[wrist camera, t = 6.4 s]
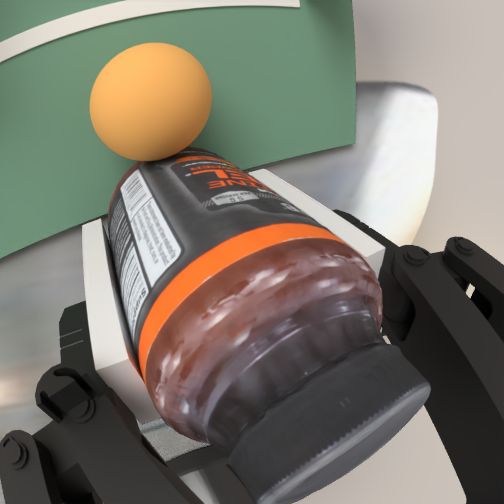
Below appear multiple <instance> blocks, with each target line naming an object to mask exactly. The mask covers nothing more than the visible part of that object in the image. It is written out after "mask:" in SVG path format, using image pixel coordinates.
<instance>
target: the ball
mask: <svg viewBox="0 0 504 504" xmlns="http://www.w3.org/2000/svg"><path fill="white" fill-rule="evenodd" d="M211 105H212V90H211V85H210V81H209V78H208V75H207V73H206V72H205V70H204V68H203V66H202V65H201V64H200V62H199V61H198V60H197V59H196V58H195V57H194V56H193V55H191V54H190V53H189V52H187V51H185V50H184V49H182V48H179V47H177V46H174V45H170V44H166V43H145V44H140V45H136V46H133V47H131V48H129V49H126V50H125V51H123V52H121V53H119V54H118V55H117V56H115V57H114V58H113V59H111V60H110V61H109V62H108V63H107V64H106V65H105V67H104V68H103V69H102V71H101V72H100V73H99V75H98V77H97V79H96V81H95V83H94V85H93V88H92V92H91V96H90V117H91V121H92V124H93V127H94V129H95V131H96V133H97V135H98V136H99V138H100V139H101V141H102V142H103V143H104V144H105V145H106V146H107V147H108V148H109V149H111V150H112V151H113V152H115V153H117V154H118V155H120V156H123V157H125V158H128V159H132V160H138V161H154V160H160V159H164V158H167V157H170V156H172V155H174V154H176V153H178V152H180V151H181V150H183V149H184V148H186V147H187V146H188V145H189V144H191V143H192V142H193V141H194V140H195V139H196V138H197V136H198V135H199V134H200V132H201V131H202V129H203V128H204V126H205V124H206V122H207V120H208V117H209V114H210V110H211Z"/></svg>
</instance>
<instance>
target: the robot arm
mask: <svg viewBox="0 0 504 504" xmlns="http://www.w3.org/2000/svg"><path fill="white" fill-rule="evenodd" d="M248 174H249V175H250V176H252V177H254V178H255V179H256V180H258V181H259V182H260V183H262V184H263V185H265V186H266V187H268V188H270V189H271V190H273V191H274V192H276V193H277V194H278V195H279V196H281V197H282V198H284V199H286V200H287V201H289V202H290V203H292V204H294V205H295V206H296V207H297V208H298V209H300V210H301V211H302V212H304V213H305V214H307V215H308V216H310V217H312V218H314V219H315V220H316V221H317V222H318V223H319V224H321V225H323V226H325V227H327V228H328V229H329V230H330V231H331V232H332V233H333V234H334V235H335V236H336V237H338V238H339V239H341V240H342V241H343V242H345V243H346V244H347V245H349V246H350V247H351V248H352V249H353V250H355V251H356V252H357V253H358V254H359V255H360V256H361V257H362V258H363V259H364V260H365V261H366V262H367V263H368V264H369V265H370V267H371V268H372V269H373V271H374V272H375V274H376V277H377V279H378V281H379V284H380V287H381V290H382V305H383V309H382V322H381V325H380V329H381V327H382V332H381V334H382V336H385V335H386V336H387V337H388V339H389V341H390V343H391V344H392V345H396V346H398V347H399V348H400V350H401V352H402V354H403V356H404V357H405V358H406V359H407V360H408V361H409V362H410V363H411V364H412V365H413V366H414V367H415V368H416V369H417V370H418V371H419V373H420V374H421V375H422V376H423V377H424V378H425V379H426V380H427V381H428V382H429V383H430V387H431V391H430V395H429V397H428V398H427V400H426V402H425V403H424V406H425V408H426V410H427V412H428V414H429V416H430V418H431V420H432V422H433V424H434V426H435V428H436V430H437V432H438V434H439V436H440V438H441V440H442V443H443V445H444V447H445V449H446V451H447V453H448V456H449V458H450V460H451V462H452V465H453V467H454V469H455V471H456V473H457V476H458V478H459V481H460V483H461V485H462V488H463V490H464V493H465V495H466V499H467V500H466V504H504V265H503V264H501V263H500V262H499V261H498V260H496V259H495V258H493V257H492V256H491V255H489V254H488V253H487V252H486V251H484V250H483V249H482V248H480V247H479V246H477V245H476V244H475V243H473V242H472V241H470V240H468V239H465V238H463V237H452V238H449V239H448V241H447V243H446V246H445V249H444V251H442V252H436V253H429V252H428V251H427V250H425V249H423V248H421V247H419V246H414V245H403V246H401V247H398V246H397V245H395V244H394V243H393V242H391V241H390V240H388V239H387V238H385V237H384V236H382V235H381V234H379V233H378V232H376V231H375V230H373V229H372V228H369V226H367V225H366V224H364V223H363V222H360V220H358V219H357V218H355V217H354V216H352V215H351V214H349V213H346V212H343V211H340V210H337V209H336V210H333V211H331V210H330V209H328V208H327V207H325V206H324V205H322V204H320V203H319V202H317V201H316V200H314V199H313V198H311V197H310V196H308V195H306V194H305V193H303V192H302V191H300V190H298V189H297V188H295V187H294V186H292V185H290V184H289V183H287V182H285V181H284V180H282V179H281V178H279V177H277V176H276V175H274V174H272V173H271V172H269V171H267V170H266V169H260V170H257V171H253V172H249V173H248ZM82 241H83V267H84V283H85V295H86V301H83V302H80V303H78V304H75V305H72V306H70V307H67V308H65V309H64V312H63V314H62V317H61V319H60V322H59V332H60V348H61V350H60V353H61V363H60V364H58V365H56V366H54V367H51V368H50V369H49V370H48V371H47V372H46V373H45V374H43V376H42V377H41V379H40V381H39V382H38V384H37V388H36V393H35V398H36V404H37V406H38V407H39V408H40V409H42V410H43V411H44V412H45V413H46V414H47V415H48V416H50V417H51V418H52V419H53V421H51V422H50V423H49V424H48V425H46V426H45V427H44V428H42V429H41V430H39V431H38V432H37V433H35V434H34V435H32V436H31V435H30V434H29V433H27V432H24V431H22V430H13V431H11V432H10V433H8V434H6V435H5V437H4V438H3V439H2V440H1V442H0V479H1V484H2V489H3V494H4V499H5V503H6V504H103V503H104V504H255V503H254V501H253V500H252V498H251V497H250V496H249V494H248V491H247V489H246V488H245V486H244V485H243V483H242V482H241V480H240V478H239V477H238V475H237V474H236V472H235V471H234V470H233V469H232V467H231V466H230V464H229V462H228V456H229V453H228V452H226V451H224V450H222V449H219V448H217V447H215V446H209V447H206V448H202V449H199V450H196V451H193V452H190V453H187V454H185V455H182V456H180V457H177V458H175V459H173V460H170V461H168V462H165V460H164V459H163V458H162V457H161V456H160V455H159V453H158V452H157V451H156V450H155V449H154V447H153V446H152V445H151V444H150V442H149V441H148V440H147V439H146V437H144V436H143V435H142V434H141V433H140V430H139V427H138V424H137V421H136V419H137V420H138V421H139V422H140V423H141V424H142V425H143V424H145V423H148V422H151V421H154V420H157V419H159V418H162V417H161V416H160V414H159V413H158V411H157V410H156V408H155V407H154V404H153V402H152V399H151V397H150V395H149V393H148V391H147V388H146V385H145V382H144V379H143V376H142V374H141V369H140V366H139V364H138V361H137V357H136V353H135V350H134V346H133V343H132V339H131V336H130V332H129V328H128V324H127V320H126V316H125V312H124V308H123V304H122V300H121V295H120V291H119V286H118V281H117V277H116V272H115V267H114V261H113V256H112V251H111V245H110V243H109V240H108V237H107V234H106V232H105V229H104V226H103V223H102V220H101V219H98V220H95V221H93V222H90V223H87V224H85V225H82ZM470 283H471V285H473V286H474V287H475V290H474V292H473V294H472V296H471V298H469V297H468V296H467V295H466V291H467V289H468V286H469V284H470ZM102 501H103V502H102Z"/></svg>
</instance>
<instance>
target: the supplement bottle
mask: <svg viewBox="0 0 504 504" xmlns="http://www.w3.org/2000/svg"><path fill="white" fill-rule="evenodd" d="M108 231H109V240H110V245H111V251H112V256H113V261H114V267H115V272H116V277H117V281H118V286H119V291H120V295H121V300H122V304H123V308H124V312H125V316H126V320H127V324H128V328H129V332H130V336H131V339H132V343H133V346H134V350H135V353H136V357H137V361H138V364H139V366H140V369H141V374H142V376H143V379H144V382H145V385H146V388H147V391H148V393H149V395H150V397H151V399H152V402H153V404H154V407H155V408H156V410H157V411H158V413H159V414H160V416H161V417H162V419H163V420H164V421H165V423H166V424H167V425H168V426H170V427H171V428H173V429H174V430H175V431H177V432H178V433H179V434H181V435H184V436H186V437H188V438H190V439H193V440H195V441H199V442H203V443H209V444H211V445H213V446H215V447H217V448H219V449H222V450H224V451H226V452H228V453H229V456H228V462H229V464H230V466H231V467H232V469H233V470H234V471H235V472H236V474H237V475H238V477H239V478H240V480H241V482H242V483H243V485H244V486H245V488H246V489H247V491H248V494H249V496H250V497H251V498H252V500H253V501H254V503H255V504H292V503H294V502H297V501H299V500H301V499H303V498H305V497H306V496H308V495H310V494H312V493H313V492H315V491H318V490H320V489H322V488H324V487H325V486H327V485H329V484H331V483H332V482H334V481H336V480H337V479H339V478H341V477H342V476H344V475H346V474H347V473H349V472H350V471H351V470H353V469H354V468H356V467H357V466H358V465H360V464H361V463H363V462H364V461H365V460H367V459H368V458H369V457H371V456H372V455H373V454H374V453H375V452H377V451H378V450H379V449H380V448H381V447H383V446H384V445H385V444H386V443H387V442H388V441H389V440H391V439H392V438H393V437H394V436H395V435H396V434H397V433H398V432H399V431H400V430H401V429H402V428H403V427H404V426H405V425H406V424H407V423H408V422H409V421H410V420H411V418H412V417H413V416H414V415H415V414H416V413H417V412H418V411H419V410H420V408H421V407H422V406H423V405H424V403H425V402H426V400H427V398H428V397H429V395H430V391H431V387H430V383H429V382H428V381H427V380H426V379H425V378H424V377H423V376H422V375H421V374H420V373H419V371H418V370H417V369H416V368H415V367H414V366H413V365H412V364H411V363H410V362H409V361H408V360H407V359H406V358H405V357H404V356H403V354H402V352H401V350H400V348H399V347H398V346H396V345H392V344H387V343H386V342H385V340H384V339H383V337H382V334H381V333H380V325H381V322H382V309H383V305H382V290H381V287H380V284H379V281H378V279H377V277H376V274H375V272H374V271H373V269H372V268H371V267H370V265H369V264H368V263H367V262H366V261H365V260H364V259H363V258H362V257H361V256H360V255H359V254H358V253H357V252H356V251H355V250H353V249H352V248H351V247H350V246H349V245H347V244H346V243H345V242H343V241H342V240H341V239H339V238H338V237H336V236H335V235H334V234H333V233H332V232H331V231H330V230H329V229H328V228H327V227H325V226H323V225H321V224H319V223H318V222H317V221H316V220H315V219H314V218H312V217H310V216H308V215H307V214H305V213H304V212H302V211H301V210H300V209H298V208H297V207H296V206H295V205H294V204H292V203H290V202H289V201H287V200H286V199H284V198H282V197H281V196H279V195H278V194H277V193H276V192H274V191H273V190H271V189H270V188H268V187H266V186H265V185H263V184H262V183H260V182H259V181H258V180H256V179H255V178H254V177H252V176H250V175H249V174H247V173H246V172H244V171H243V170H241V169H240V168H239V167H237V166H235V165H234V164H232V163H231V162H229V161H227V160H226V159H224V158H223V157H221V156H219V155H218V154H216V153H213V152H209V151H208V150H205V149H202V148H197V147H188V146H187V147H186V148H184V149H183V150H181V151H180V152H178V153H176V154H174V155H172V156H170V157H167V158H164V159H160V160H154V161H138V162H137V163H135V164H134V165H133V166H132V167H131V168H130V169H129V170H128V171H127V172H126V173H125V175H124V176H123V177H122V179H121V180H120V181H119V183H118V184H117V186H116V188H115V190H114V192H113V194H112V197H111V200H110V205H109V210H108Z"/></svg>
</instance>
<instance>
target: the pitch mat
mask: <svg viewBox="0 0 504 504" xmlns="http://www.w3.org/2000/svg"><path fill="white" fill-rule="evenodd" d="M145 43H166V44H170V45H174V46H177V47H179V48H182V49H184V50H185V51H187V52H189V53H190V54H191V55H193V56H194V57H195V58H196V59H197V60H198V61H199V62H200V64H201V65H202V66H203V68H204V70H205V72H206V73H207V75H208V78H209V81H210V85H211V90H212V105H211V110H210V114H209V117H208V120H207V122H206V124H205V126H204V128H203V129H202V131H201V132H200V134H199V135H198V136H197V138H196V139H195V140H194V141H193V142H192V143H191V144H189V145H188V147H197V148H202V149H205V150H208V151H209V152H213V153H216V154H218V155H219V156H221V157H223V158H224V159H226V160H227V161H229V162H231V163H232V164H234V165H235V166H237V167H239V168H240V169H241V170H245V169H248V168H252V167H256V166H259V165H263V164H267V163H271V162H275V161H279V160H283V159H287V158H291V157H295V156H300V155H304V154H308V153H312V152H317V151H321V150H326V149H331V148H335V147H340V146H345V145H350V144H355V135H356V67H355V41H354V23H353V10H352V0H0V258H2V257H4V256H6V255H9V254H11V253H13V252H15V251H17V250H19V249H22V248H24V247H26V246H28V245H31V244H33V243H35V242H38V241H40V240H42V239H44V238H47V237H49V236H52V235H54V234H56V233H59V232H61V231H64V230H66V229H69V228H71V227H74V226H76V225H79V224H81V223H84V222H86V221H89V220H91V219H94V218H97V217H99V216H102V215H105V214H107V213H108V210H109V205H110V200H111V197H112V194H113V192H114V190H115V188H116V186H117V184H118V183H119V181H120V180H121V179H122V177H123V176H124V175H125V173H126V172H127V171H128V170H129V169H130V168H131V167H132V166H133V165H134V164H135V163H137V162H138V160H132V159H128V158H125V157H123V156H120V155H118V154H117V153H115V152H113V151H112V150H111V149H109V148H108V147H107V146H106V145H105V144H104V143H103V142H102V141H101V139H100V138H99V136H98V135H97V133H96V131H95V129H94V127H93V124H92V121H91V117H90V96H91V92H92V88H93V85H94V83H95V81H96V79H97V77H98V75H99V73H100V72H101V71H102V69H103V68H104V67H105V65H106V64H107V63H108V62H109V61H110V60H111V59H113V58H114V57H115V56H117V55H118V54H119V53H121V52H123V51H125V50H126V49H129V48H131V47H133V46H136V45H140V44H145Z"/></svg>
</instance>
